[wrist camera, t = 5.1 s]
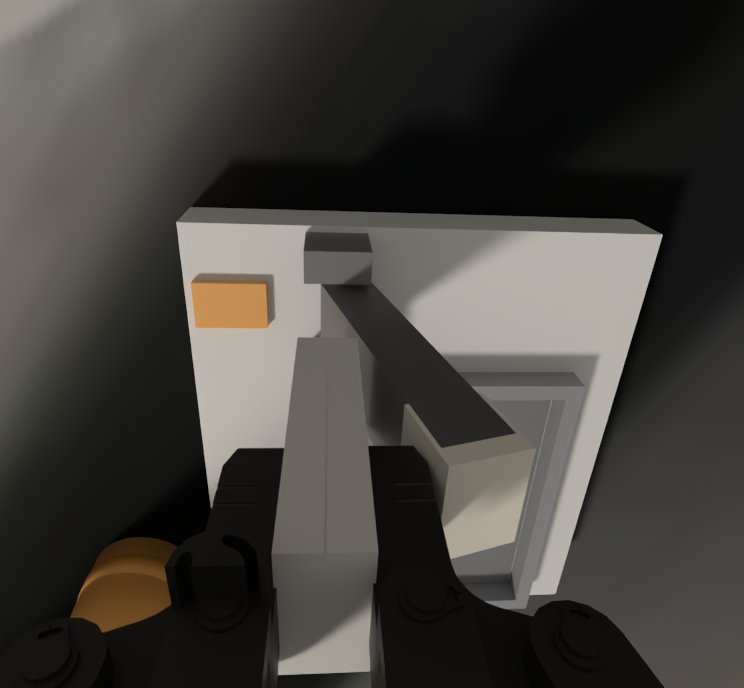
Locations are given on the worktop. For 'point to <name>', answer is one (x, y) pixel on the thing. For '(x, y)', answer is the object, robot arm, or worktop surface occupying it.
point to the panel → (429, 337)
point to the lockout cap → (126, 583)
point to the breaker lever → (434, 419)
